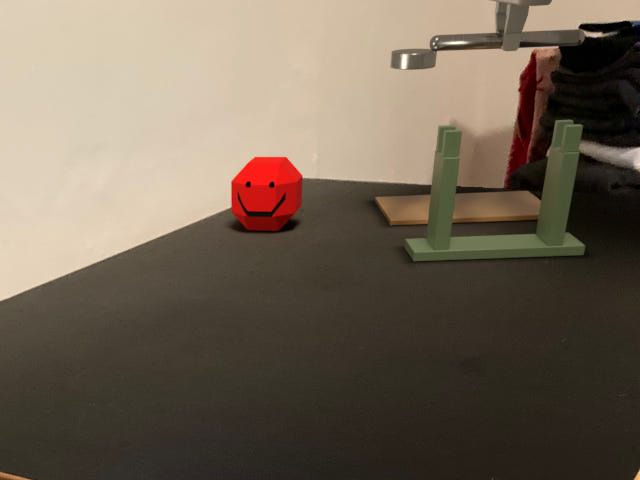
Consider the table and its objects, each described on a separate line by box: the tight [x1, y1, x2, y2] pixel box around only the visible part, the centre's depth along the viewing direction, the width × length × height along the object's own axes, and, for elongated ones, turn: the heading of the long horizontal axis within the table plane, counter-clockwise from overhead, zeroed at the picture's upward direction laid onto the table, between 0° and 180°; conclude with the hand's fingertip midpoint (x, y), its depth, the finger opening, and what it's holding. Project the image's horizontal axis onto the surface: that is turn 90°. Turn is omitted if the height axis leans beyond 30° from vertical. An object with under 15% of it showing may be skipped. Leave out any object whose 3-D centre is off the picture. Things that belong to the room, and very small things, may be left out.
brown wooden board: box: [374, 190, 541, 226], centre depth 125 cm, size 20×14×1 cm
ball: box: [230, 156, 304, 232], centre depth 120 cm, size 8×8×8 cm
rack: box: [404, 119, 586, 263], centre depth 104 cm, size 18×6×12 cm, turn 87°
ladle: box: [389, 28, 586, 71], centre depth 114 cm, size 22×5×3 cm, turn 88°
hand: (505, 49), depth 114 cm, fingers closed on ladle
